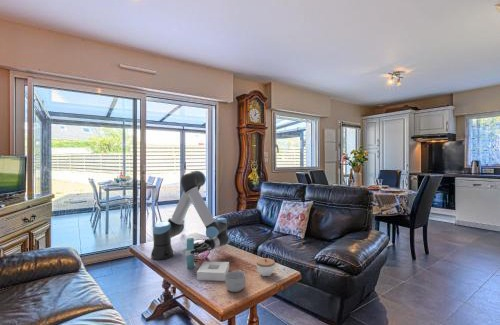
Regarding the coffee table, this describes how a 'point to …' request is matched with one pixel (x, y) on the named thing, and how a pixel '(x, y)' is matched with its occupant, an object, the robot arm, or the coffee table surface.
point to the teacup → (235, 280)
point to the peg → (191, 257)
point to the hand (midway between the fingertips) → (183, 252)
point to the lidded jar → (265, 266)
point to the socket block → (213, 271)
